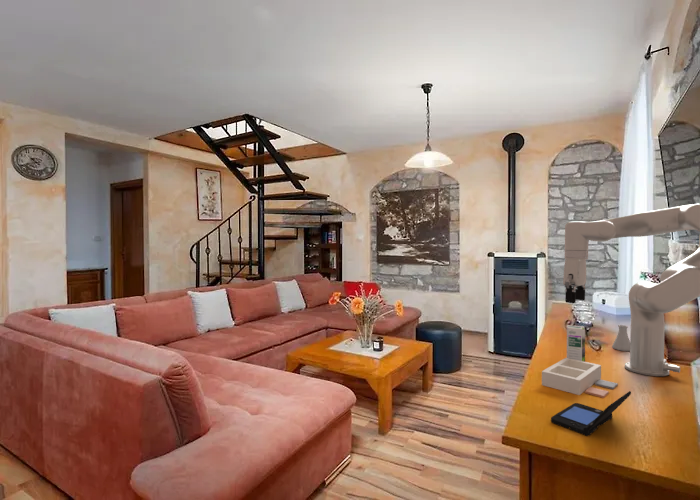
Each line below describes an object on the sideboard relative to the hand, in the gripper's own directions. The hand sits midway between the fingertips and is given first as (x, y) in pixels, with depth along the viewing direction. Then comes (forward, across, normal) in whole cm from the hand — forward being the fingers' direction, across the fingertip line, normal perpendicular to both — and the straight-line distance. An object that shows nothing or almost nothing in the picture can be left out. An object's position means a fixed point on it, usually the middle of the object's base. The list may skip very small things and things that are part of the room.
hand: (575, 301), depth 143 cm
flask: (+24, -37, +6) cm, 45 cm away
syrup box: (+24, 0, 0) cm, 24 cm away
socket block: (+24, +18, +8) cm, 31 cm away
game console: (+24, +46, +19) cm, 55 cm away
